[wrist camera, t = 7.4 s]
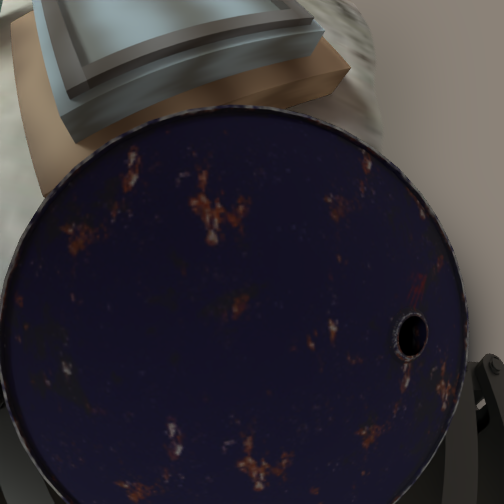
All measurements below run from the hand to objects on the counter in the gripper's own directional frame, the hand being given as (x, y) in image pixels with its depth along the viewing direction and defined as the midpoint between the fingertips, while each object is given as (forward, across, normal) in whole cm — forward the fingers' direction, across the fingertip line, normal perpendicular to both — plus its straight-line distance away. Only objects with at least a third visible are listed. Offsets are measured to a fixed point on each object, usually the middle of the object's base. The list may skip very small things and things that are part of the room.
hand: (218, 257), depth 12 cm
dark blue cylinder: (+3, 0, -8) cm, 8 cm away
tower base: (+19, -5, +8) cm, 21 cm away
